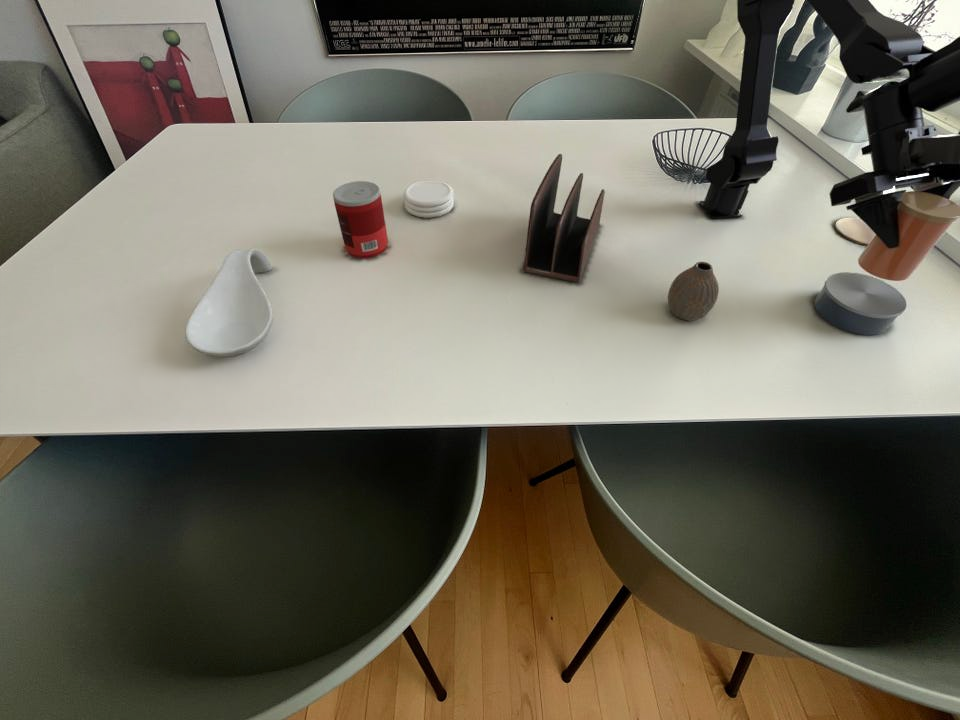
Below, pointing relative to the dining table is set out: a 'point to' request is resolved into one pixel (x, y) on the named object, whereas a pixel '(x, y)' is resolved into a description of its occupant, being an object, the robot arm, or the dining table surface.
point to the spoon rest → (232, 308)
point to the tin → (859, 303)
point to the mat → (855, 230)
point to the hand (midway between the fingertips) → (913, 243)
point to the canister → (910, 236)
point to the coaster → (428, 199)
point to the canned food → (361, 219)
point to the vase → (693, 292)
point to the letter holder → (559, 230)
